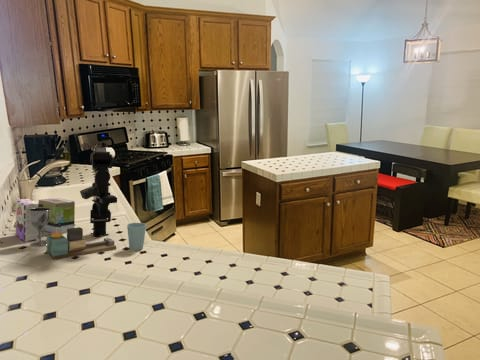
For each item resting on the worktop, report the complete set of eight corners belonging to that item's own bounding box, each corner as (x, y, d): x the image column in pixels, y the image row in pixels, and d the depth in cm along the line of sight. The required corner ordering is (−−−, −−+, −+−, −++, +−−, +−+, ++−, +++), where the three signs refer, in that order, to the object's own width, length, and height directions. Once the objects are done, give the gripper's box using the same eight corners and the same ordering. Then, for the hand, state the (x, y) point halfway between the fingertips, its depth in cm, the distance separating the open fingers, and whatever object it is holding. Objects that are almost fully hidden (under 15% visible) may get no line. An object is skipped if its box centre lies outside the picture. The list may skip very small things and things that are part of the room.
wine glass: (35, 248, 145) (35, 211, 144) (25, 244, 149) (24, 208, 148) (54, 243, 152) (54, 209, 150) (44, 240, 156) (43, 206, 154)
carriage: (63, 247, 143) (63, 227, 143) (79, 245, 147) (79, 226, 147) (69, 252, 138) (69, 231, 137) (85, 249, 142) (85, 229, 142)
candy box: (15, 235, 161) (14, 199, 160) (29, 233, 166) (29, 198, 164) (24, 242, 152) (23, 204, 150) (39, 240, 156) (39, 203, 154)
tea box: (75, 231, 174) (75, 201, 172) (55, 235, 165) (55, 203, 164) (57, 225, 182) (57, 196, 180) (37, 229, 173) (37, 199, 171)
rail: (46, 252, 141) (46, 235, 140) (106, 243, 157) (106, 227, 156) (54, 259, 133) (54, 241, 133) (116, 249, 150) (116, 232, 149)
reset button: (50, 236, 138) (50, 233, 138) (60, 235, 140) (60, 231, 140) (53, 238, 135) (53, 235, 135) (63, 237, 138) (63, 233, 138)
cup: (142, 245, 157) (143, 222, 156) (147, 250, 150) (148, 226, 149) (125, 247, 153) (125, 223, 152) (129, 252, 146) (129, 227, 145)
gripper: (74, 178, 154) (74, 214, 156) (90, 184, 141) (90, 223, 143) (100, 178, 162) (99, 211, 164) (118, 183, 149) (117, 219, 150)
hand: (101, 216), depth 155 cm, fingers closed
